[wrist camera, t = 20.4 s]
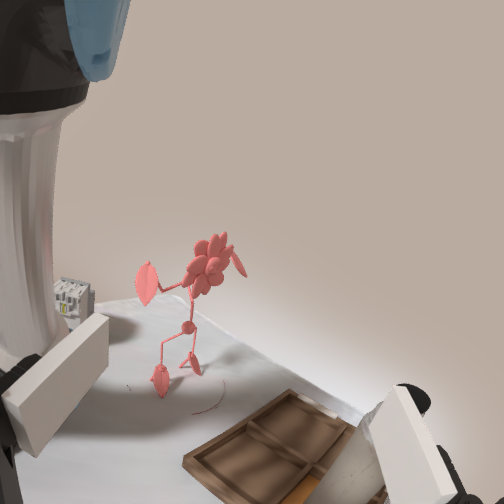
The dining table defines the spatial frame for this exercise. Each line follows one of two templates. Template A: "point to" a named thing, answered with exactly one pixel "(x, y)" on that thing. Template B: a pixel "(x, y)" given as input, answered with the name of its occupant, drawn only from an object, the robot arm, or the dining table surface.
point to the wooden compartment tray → (273, 454)
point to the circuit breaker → (74, 301)
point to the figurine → (202, 277)
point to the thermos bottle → (359, 463)
